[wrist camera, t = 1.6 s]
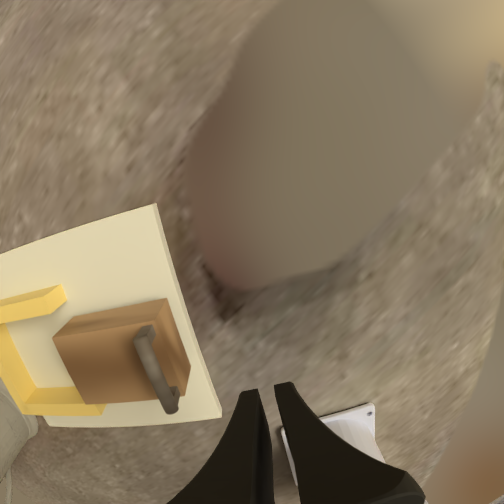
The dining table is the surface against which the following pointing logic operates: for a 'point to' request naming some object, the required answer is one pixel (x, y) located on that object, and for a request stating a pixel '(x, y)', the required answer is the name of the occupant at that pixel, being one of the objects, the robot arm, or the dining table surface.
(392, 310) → the dining table surface
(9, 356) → the dock
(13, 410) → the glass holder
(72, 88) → the dining table surface
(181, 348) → the wooden block with handle
